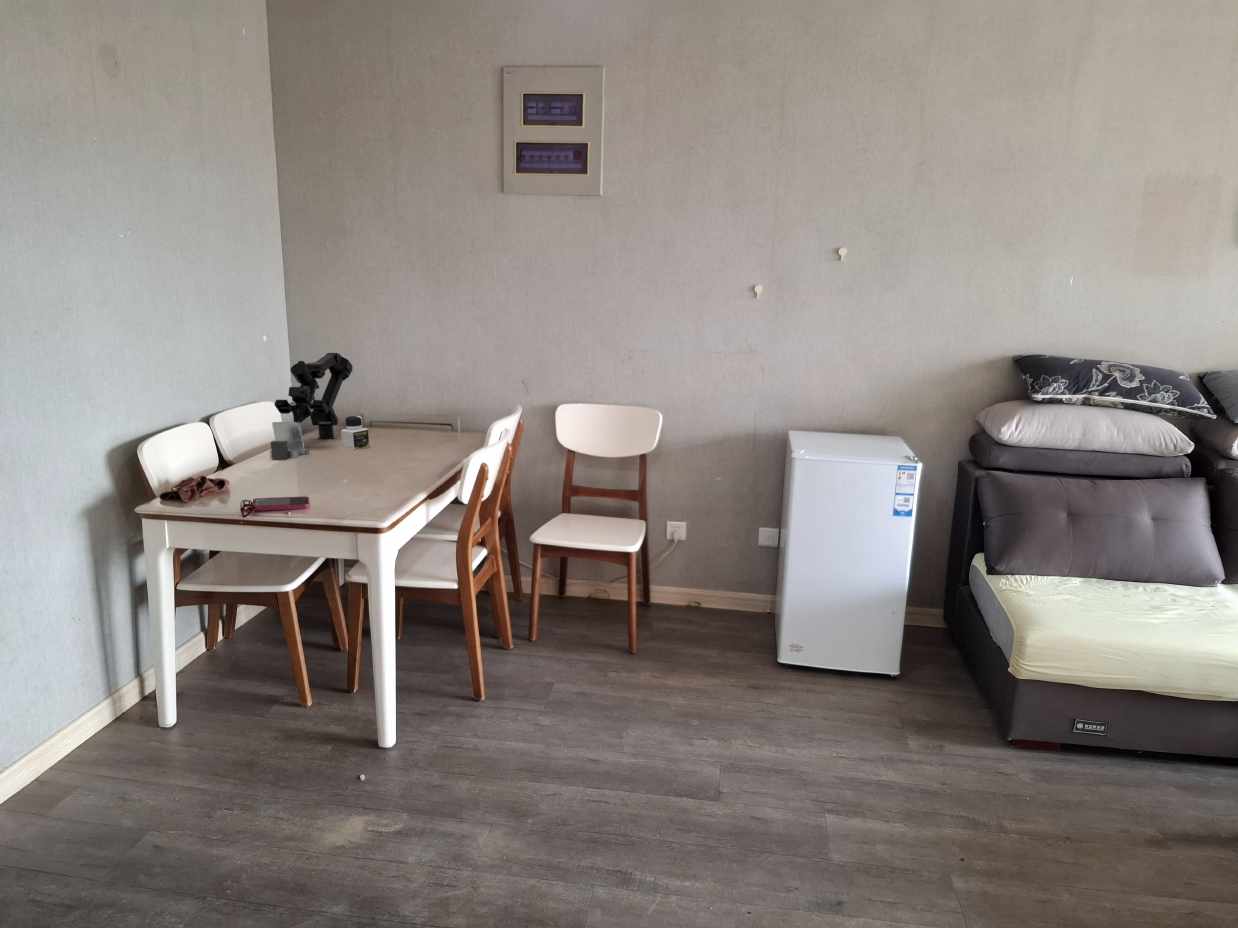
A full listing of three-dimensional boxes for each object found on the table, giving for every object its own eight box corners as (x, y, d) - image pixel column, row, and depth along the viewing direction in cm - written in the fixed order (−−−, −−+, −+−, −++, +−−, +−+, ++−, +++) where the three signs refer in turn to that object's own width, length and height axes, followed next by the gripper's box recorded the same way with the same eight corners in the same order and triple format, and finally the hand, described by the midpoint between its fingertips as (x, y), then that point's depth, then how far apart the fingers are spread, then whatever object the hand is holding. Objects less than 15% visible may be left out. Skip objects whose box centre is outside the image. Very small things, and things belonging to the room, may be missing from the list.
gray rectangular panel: (278, 453, 303) (279, 452, 304) (304, 454, 302) (305, 452, 303) (271, 423, 298) (273, 421, 299) (298, 423, 297) (300, 422, 298)
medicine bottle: (354, 450, 312) (351, 419, 309) (342, 448, 316) (339, 417, 313) (369, 446, 318) (367, 416, 315) (357, 444, 322) (354, 414, 319)
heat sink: (274, 453, 303) (272, 436, 302) (309, 454, 302) (307, 436, 301) (261, 460, 294) (259, 441, 293) (297, 460, 293) (295, 442, 291)
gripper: (274, 378, 307) (261, 412, 299) (322, 378, 306) (311, 412, 297) (286, 396, 317) (274, 429, 308) (333, 396, 315) (323, 430, 307)
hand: (295, 425), depth 305 cm, fingers closed
